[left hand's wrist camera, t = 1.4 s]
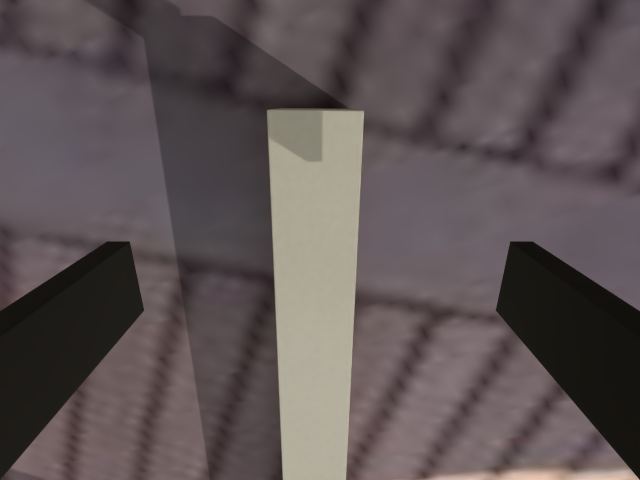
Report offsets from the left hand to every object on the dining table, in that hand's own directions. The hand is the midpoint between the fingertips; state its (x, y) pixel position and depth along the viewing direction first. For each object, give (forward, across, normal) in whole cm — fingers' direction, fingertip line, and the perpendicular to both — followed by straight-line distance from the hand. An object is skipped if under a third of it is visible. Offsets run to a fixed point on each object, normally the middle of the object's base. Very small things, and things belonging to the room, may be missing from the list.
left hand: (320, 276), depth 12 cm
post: (+14, 0, -26) cm, 30 cm away
